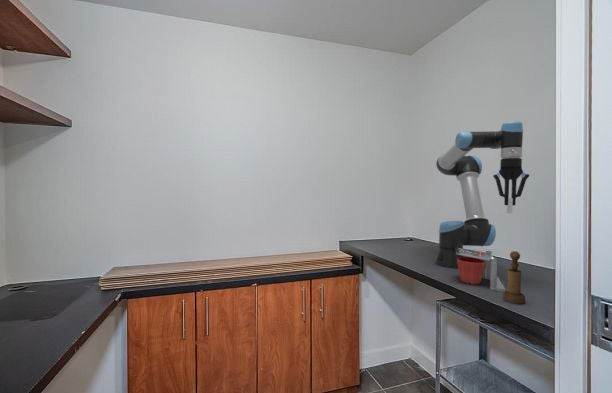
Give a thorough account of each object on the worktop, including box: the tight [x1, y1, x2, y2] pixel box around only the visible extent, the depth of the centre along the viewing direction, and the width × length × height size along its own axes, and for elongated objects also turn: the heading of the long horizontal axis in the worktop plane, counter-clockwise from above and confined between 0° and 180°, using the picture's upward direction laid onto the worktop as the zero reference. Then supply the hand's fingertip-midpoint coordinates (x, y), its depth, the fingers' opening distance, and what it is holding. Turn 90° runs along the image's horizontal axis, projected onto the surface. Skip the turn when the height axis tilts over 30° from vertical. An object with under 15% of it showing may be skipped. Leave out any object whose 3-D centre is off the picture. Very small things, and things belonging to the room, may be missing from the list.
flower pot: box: [457, 256, 486, 285], centre depth 130 cm, size 11×11×10 cm
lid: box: [456, 247, 495, 261], centre depth 129 cm, size 13×14×2 cm
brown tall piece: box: [502, 250, 526, 305], centre depth 107 cm, size 7×6×18 cm
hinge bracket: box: [484, 250, 507, 293], centre depth 126 cm, size 19×5×12 cm, turn 155°
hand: (509, 213), depth 128 cm, fingers closed
